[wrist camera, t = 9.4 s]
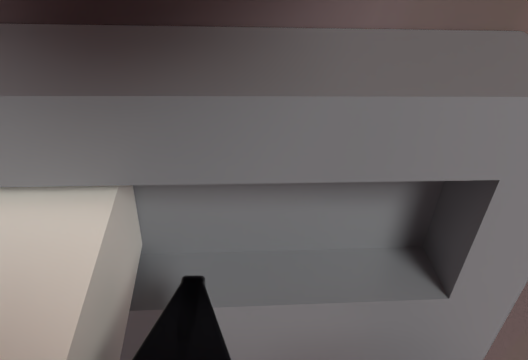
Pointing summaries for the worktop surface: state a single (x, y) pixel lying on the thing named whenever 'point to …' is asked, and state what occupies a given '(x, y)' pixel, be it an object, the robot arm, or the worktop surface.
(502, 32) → the switch bank
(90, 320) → the tab
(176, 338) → the robot arm
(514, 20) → the worktop surface
